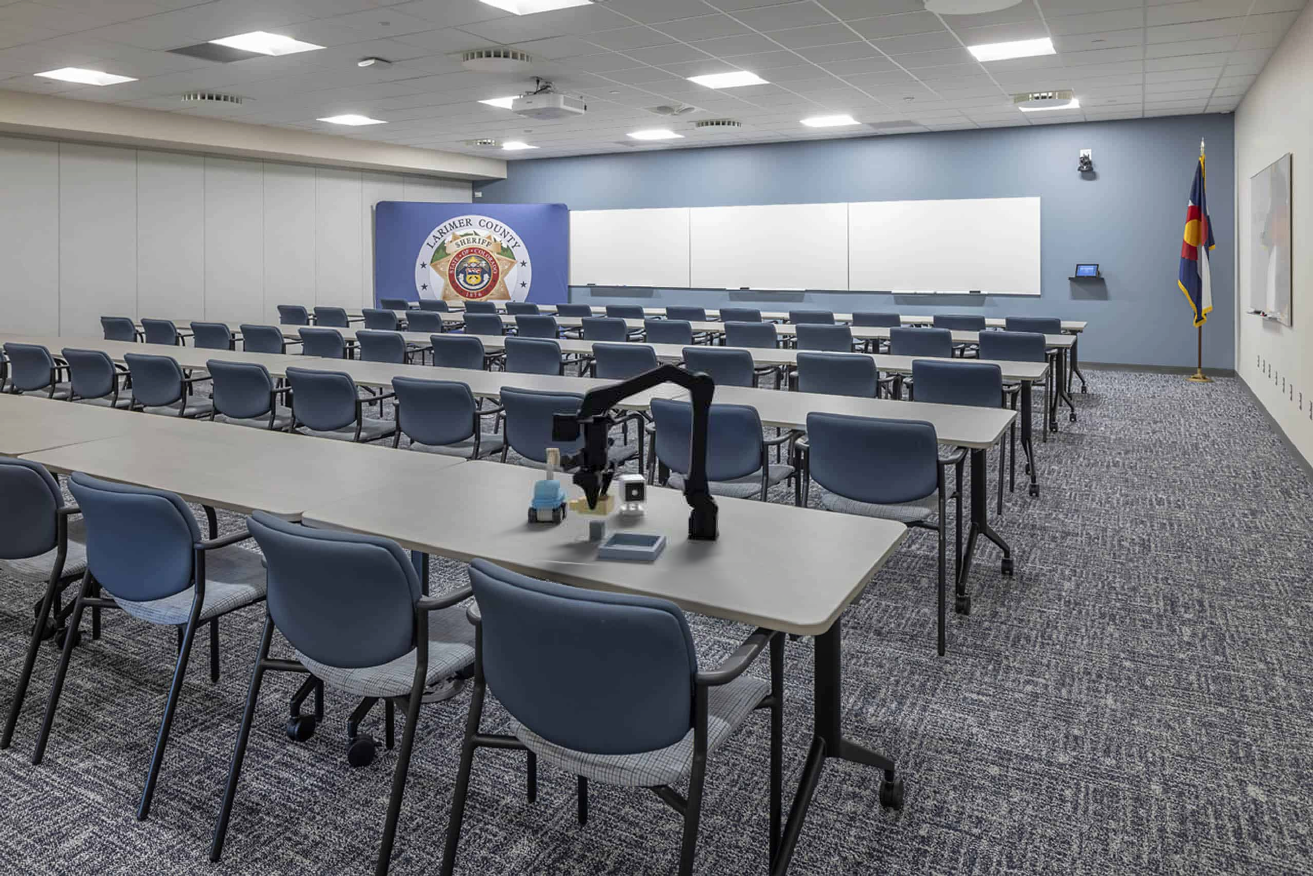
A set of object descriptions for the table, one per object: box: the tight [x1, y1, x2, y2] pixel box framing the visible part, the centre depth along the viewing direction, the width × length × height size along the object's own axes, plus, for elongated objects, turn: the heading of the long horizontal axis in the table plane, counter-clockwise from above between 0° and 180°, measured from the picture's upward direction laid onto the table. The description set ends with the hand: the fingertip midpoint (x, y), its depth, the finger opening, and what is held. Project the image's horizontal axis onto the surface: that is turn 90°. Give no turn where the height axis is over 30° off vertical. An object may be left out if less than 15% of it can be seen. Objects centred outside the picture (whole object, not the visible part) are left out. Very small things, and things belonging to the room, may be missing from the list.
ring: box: [568, 493, 615, 517], centre depth 223 cm, size 10×7×4 cm
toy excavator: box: [527, 447, 569, 524], centre depth 241 cm, size 9×17×17 cm, turn 174°
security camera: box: [618, 473, 648, 516], centre depth 245 cm, size 6×7×10 cm
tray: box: [596, 531, 667, 562], centre depth 213 cm, size 13×13×2 cm
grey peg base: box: [573, 519, 615, 543], centre depth 224 cm, size 9×9×4 cm
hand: (596, 505), depth 223 cm, fingers closed on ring, 7 cm apart
